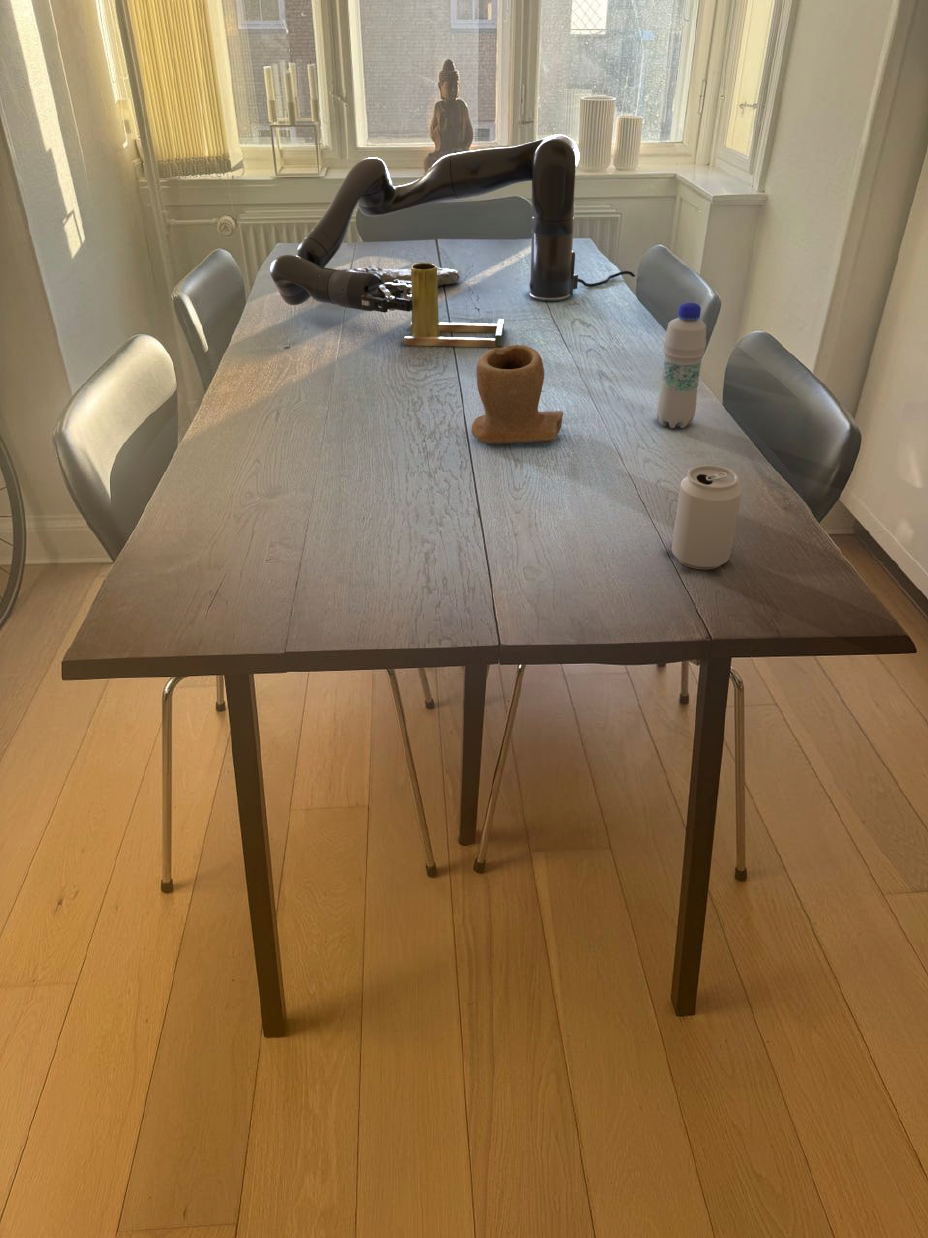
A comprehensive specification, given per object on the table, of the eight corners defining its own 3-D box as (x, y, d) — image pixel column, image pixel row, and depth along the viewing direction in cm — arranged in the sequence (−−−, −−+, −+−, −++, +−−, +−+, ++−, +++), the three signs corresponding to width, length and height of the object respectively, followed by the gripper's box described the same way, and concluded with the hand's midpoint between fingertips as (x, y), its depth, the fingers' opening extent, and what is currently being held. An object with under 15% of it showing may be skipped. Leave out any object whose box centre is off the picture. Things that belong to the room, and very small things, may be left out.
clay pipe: (471, 455, 149) (471, 362, 141) (471, 424, 159) (471, 336, 151) (567, 455, 149) (573, 362, 141) (561, 424, 159) (567, 335, 150)
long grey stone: (463, 293, 226) (456, 284, 234) (464, 270, 223) (457, 261, 232) (314, 292, 220) (313, 283, 228) (313, 269, 217) (312, 260, 226)
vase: (442, 332, 198) (440, 262, 190) (438, 342, 193) (437, 270, 185) (413, 331, 199) (410, 261, 191) (408, 341, 194) (406, 269, 186)
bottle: (697, 418, 161) (714, 298, 150) (691, 433, 156) (709, 311, 144) (657, 413, 163) (671, 294, 151) (650, 428, 158) (665, 306, 146)
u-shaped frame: (404, 345, 192) (404, 332, 191) (411, 328, 201) (410, 316, 199) (501, 347, 191) (501, 335, 189) (503, 331, 199) (504, 319, 198)
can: (664, 544, 126) (675, 462, 120) (719, 541, 127) (733, 459, 120) (679, 574, 120) (692, 489, 113) (737, 571, 121) (753, 486, 114)
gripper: (334, 279, 191) (403, 290, 185) (372, 263, 201) (439, 272, 195) (337, 317, 195) (405, 328, 189) (374, 299, 206) (439, 309, 199)
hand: (422, 300), depth 192 cm, fingers open, 8 cm apart
